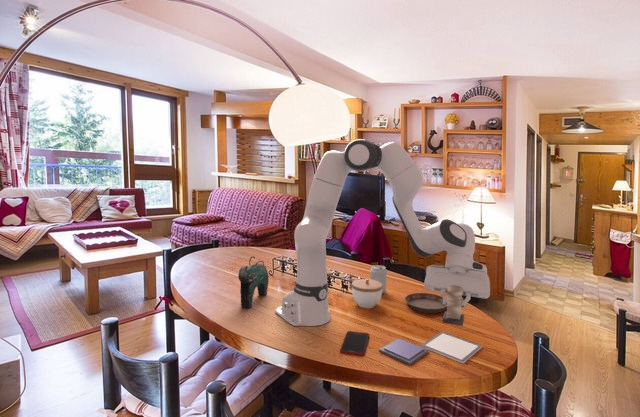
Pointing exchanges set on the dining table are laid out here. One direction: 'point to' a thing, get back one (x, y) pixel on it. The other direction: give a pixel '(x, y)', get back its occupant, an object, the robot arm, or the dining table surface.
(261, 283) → the green elephant figure
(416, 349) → the ink pad
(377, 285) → the lidded bowl
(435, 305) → the plant saucer
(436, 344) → the marked square
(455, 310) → the stamp
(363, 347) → the cell phone
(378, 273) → the can
